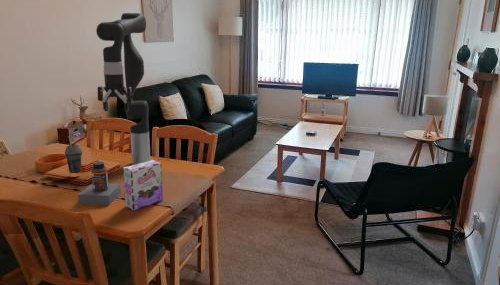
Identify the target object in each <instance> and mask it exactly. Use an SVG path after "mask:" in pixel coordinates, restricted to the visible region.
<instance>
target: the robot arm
mask: <svg viewBox="0 0 500 285" xmlns="http://www.w3.org/2000/svg"><path fill="white" fill-rule="evenodd" d="M146 29H147V19H146V16H145V15H144V14H142V13H140V12H139V13H137V12H131V13H130V12H124V13H122V14H121V18H120V19H117V20H114V21H103V22H100V23H99V24H98V25H97V26H96V31H95V32H96V35H97V37H98V38H99V39H100V40H101V41H105V42H106V41H108V42H113V44H112V45H111V46H106V47H104V48H103V50H102V56H103V76H104V86H102V85H100V86H97V101H99V102H102V106H103V107H102V109H103V110H104V112H108V111H109V103H108V100H109V99H110V98H119V99H120V100H122V101H123V107H124V109H123V110H124V112H125V114H126V118H127V119H128V120H129V119H130V120H139V119H140V120H141V121H140V122H138V123H136V124H132V125H131V126H130V127H129V128H130V130H129V131H130V144H131V146H130V147H131V162H132V165H136V164H140V163H144V162H148V161H151V146H150V126H149V125H150V124H149V123H150V122H149V103H148V102H147V100H134V94H135V92H136V89H137V87H138V86H139V84H140V83H141V81H142V80H143V78H144V75H145V64H144V63H145V62H144V60H143V57H142V55H141V54H140V53H139V51H138V49H137V48H136V46H135V45H134V42H133V40H132V34H142V33H144V32H145V31H146ZM122 49H123V59H122ZM122 60H123V61H122ZM123 65H124V66H123ZM123 67H124V68H123ZM124 77H125V78H124ZM124 81H125V82H124ZM104 91H105V95H104ZM124 92H125V93H124Z"/></svg>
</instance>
